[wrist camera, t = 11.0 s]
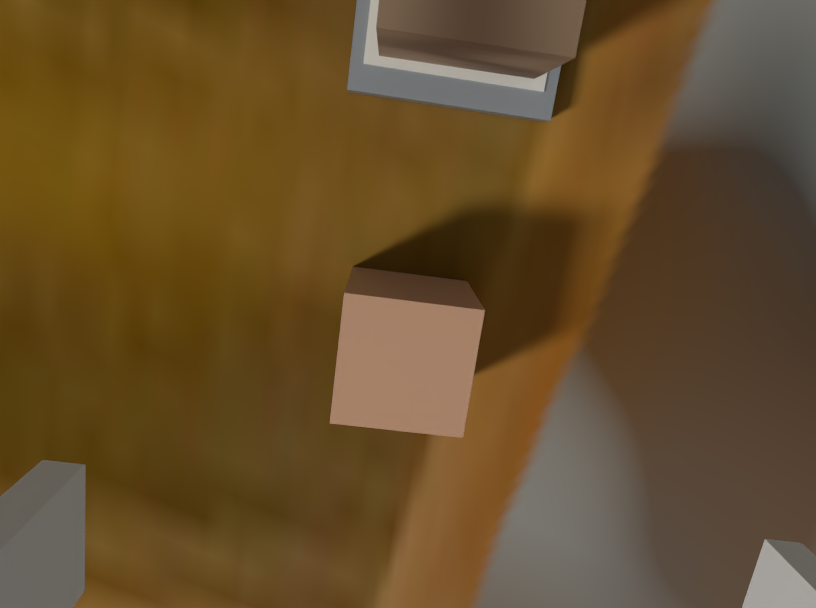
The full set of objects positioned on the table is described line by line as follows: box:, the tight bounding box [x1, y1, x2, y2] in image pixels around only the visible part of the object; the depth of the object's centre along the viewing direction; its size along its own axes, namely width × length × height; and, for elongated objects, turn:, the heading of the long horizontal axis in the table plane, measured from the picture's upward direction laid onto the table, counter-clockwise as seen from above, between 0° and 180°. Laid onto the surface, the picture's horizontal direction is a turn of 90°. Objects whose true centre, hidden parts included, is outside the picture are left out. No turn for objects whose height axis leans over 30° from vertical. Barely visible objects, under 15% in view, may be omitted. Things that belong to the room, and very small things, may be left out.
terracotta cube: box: [330, 267, 485, 438], centre depth 23 cm, size 5×5×5 cm
